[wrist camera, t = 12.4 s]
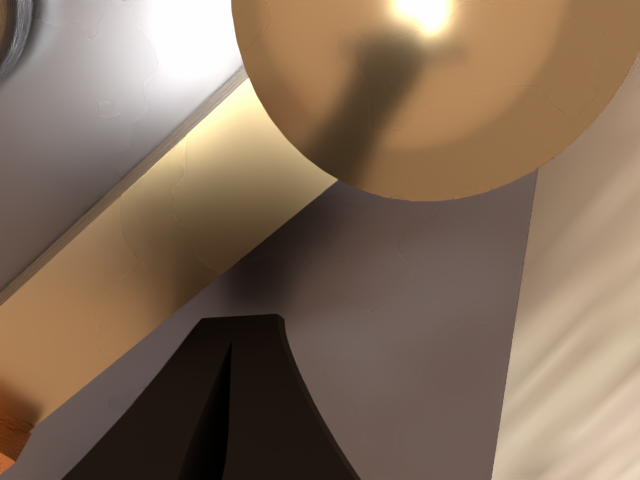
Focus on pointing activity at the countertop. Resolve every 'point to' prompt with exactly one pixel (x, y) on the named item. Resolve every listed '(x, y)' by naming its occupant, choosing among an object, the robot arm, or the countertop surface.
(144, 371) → the grey metal plate
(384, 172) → the knob
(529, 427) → the countertop surface
